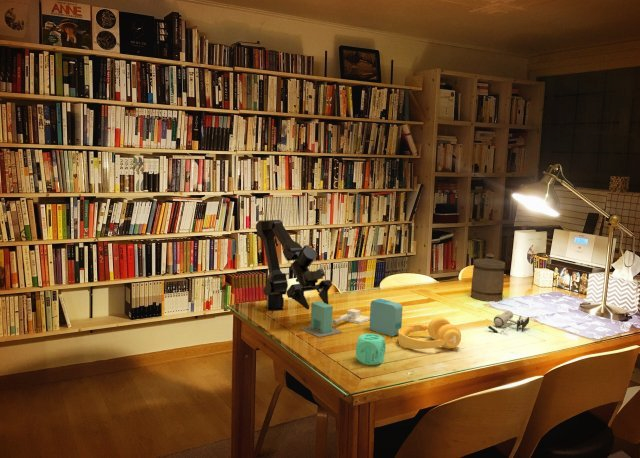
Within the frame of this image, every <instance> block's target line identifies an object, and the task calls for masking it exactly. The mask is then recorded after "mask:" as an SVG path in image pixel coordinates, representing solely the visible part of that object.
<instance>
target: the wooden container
mask: <svg viewBox="0 0 640 458" xmlns="http://www.w3.org/2000/svg"><path fill="white" fill-rule="evenodd" d="M485 256H486V258H476V259H474V260H473V267H472V278H471V289H470V297H471V298H472V299H475V300H478V301H482V302H490V301H495V302H500V301H499V300H501V301H503V293H504V281H505V278H504V277H505V268H506V262H505V261H503V260H499V259H494V257H495V256H494V254H493V253H486V255H485Z"/></svg>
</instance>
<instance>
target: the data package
mask: <svg viewBox="0 0 640 458" xmlns="http://www.w3.org/2000/svg"><path fill="white" fill-rule="evenodd" d="M369 313H370V314H369V317H370V320H369V329H370V330H371V331H373V332H377V333H378V334H379V333H380V334H383V335H386V336H389V337H395V336H397V335H398V331H399V329H401V328H402V326H403V325H402V322H403V305H402V304H401V303H399V302H396V301H391V300H387V299H385V298H384V299H383V298H376V299H374V300H373V299H372V300H371V302H370V312H369Z"/></svg>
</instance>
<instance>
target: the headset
mask: <svg viewBox="0 0 640 458" xmlns="http://www.w3.org/2000/svg"><path fill="white" fill-rule="evenodd" d="M423 331H424V332H425V331H428V335H429V336H430V338H432V339H433V340H422V339H418V338H412V337H409V336H408V335H410V334H411V333H416V332H423ZM397 335H398V344H399V346H400V347H401V348H405V349H412V350H426V349H434V348H435V349H436V348H440V347H442V348H444V349H448V350H449V349H454V348H455V349H456V347H459V345H460V343H461V341H462V333H461V331H460V328H458V327H457V326H456V325H454V324H451V322H450V321H449V320H448V319H447V318H445V317H438V316H437V317H434V318H433V319H431V320H430V321H429V323H428V325H426V324H412V325H406V326H404V327H401V329H399V331H398V334H397Z"/></svg>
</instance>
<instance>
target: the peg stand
mask: <svg viewBox="0 0 640 458" xmlns="http://www.w3.org/2000/svg"><path fill="white" fill-rule="evenodd" d="M361 312H362V310H361V309H356V308H349V309H347V310H346V313H345V314H342V315H340V316H339V318H335V319H332V325H337V324H339V322H342V321H346V322H350V323H354V324H358V325H361V324H363V323H366V322H368V321H370V316H367V315H362V314H361Z"/></svg>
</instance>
